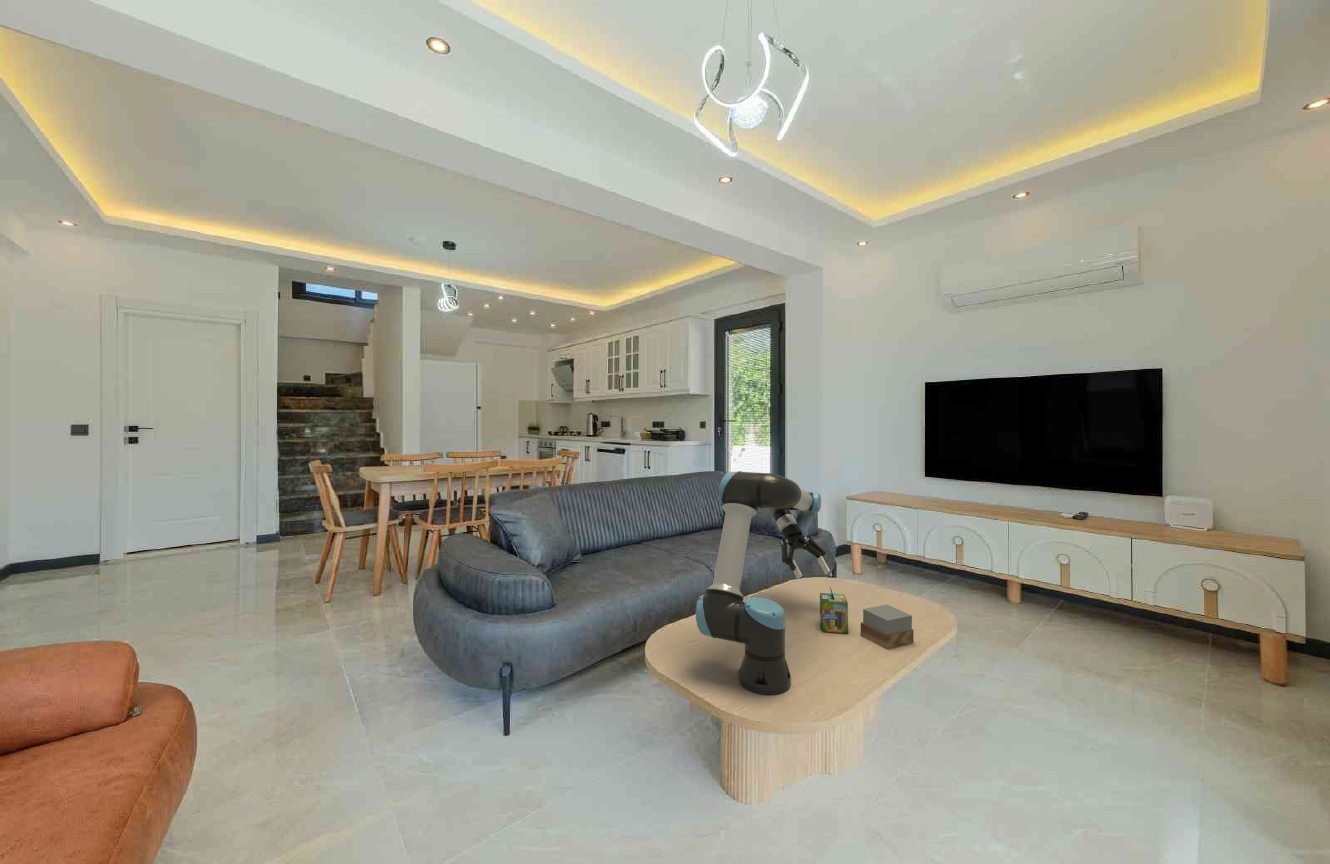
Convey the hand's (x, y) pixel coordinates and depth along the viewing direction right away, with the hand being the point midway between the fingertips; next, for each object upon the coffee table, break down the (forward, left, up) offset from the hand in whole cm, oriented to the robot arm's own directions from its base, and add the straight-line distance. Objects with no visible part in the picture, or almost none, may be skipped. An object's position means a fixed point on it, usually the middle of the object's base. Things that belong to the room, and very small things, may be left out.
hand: (814, 574), depth 200 cm
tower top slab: (+10, -26, -12) cm, 30 cm away
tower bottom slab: (+10, -26, -17) cm, 32 cm away
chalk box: (0, -11, -17) cm, 20 cm away
